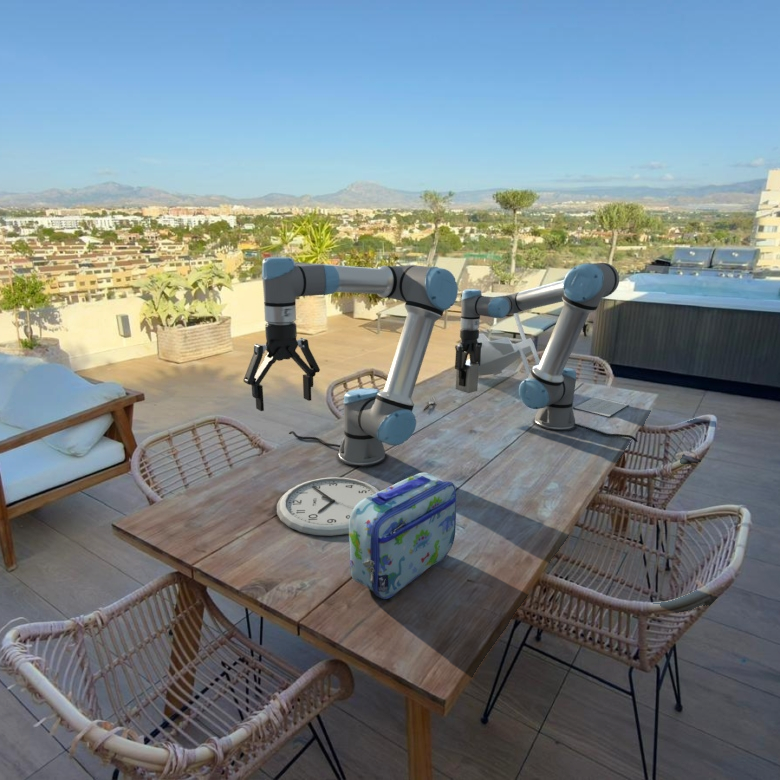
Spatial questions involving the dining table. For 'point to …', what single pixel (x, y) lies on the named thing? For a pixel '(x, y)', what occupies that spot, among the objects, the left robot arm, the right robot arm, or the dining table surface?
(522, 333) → the white plastic object
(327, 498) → the wall clock
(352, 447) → the left robot arm
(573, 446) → the dining table surface
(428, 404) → the fork
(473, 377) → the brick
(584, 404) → the invitation card
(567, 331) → the right robot arm
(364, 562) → the lunch box
